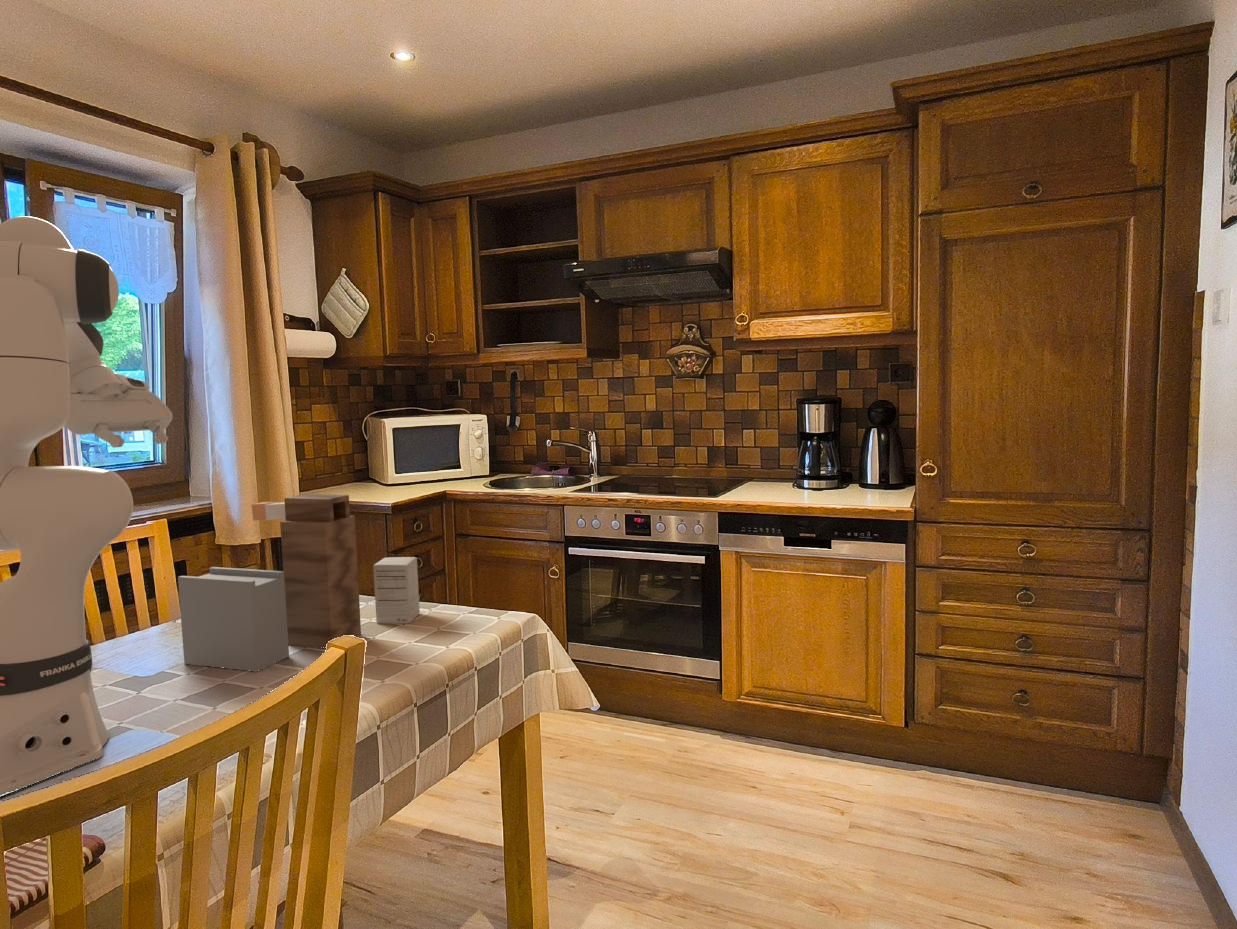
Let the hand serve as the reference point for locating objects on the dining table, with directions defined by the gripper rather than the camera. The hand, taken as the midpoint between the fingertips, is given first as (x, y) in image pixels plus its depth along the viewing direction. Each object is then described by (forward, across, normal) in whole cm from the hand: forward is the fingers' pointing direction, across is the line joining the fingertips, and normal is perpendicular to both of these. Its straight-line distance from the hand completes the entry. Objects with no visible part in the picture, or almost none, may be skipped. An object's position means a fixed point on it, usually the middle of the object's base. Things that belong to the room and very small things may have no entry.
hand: (142, 443), depth 147 cm
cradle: (+44, -4, +12) cm, 46 cm away
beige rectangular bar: (+28, +10, -6) cm, 30 cm away
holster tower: (+50, +10, +6) cm, 51 cm away
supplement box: (+54, +26, +2) cm, 60 cm away
